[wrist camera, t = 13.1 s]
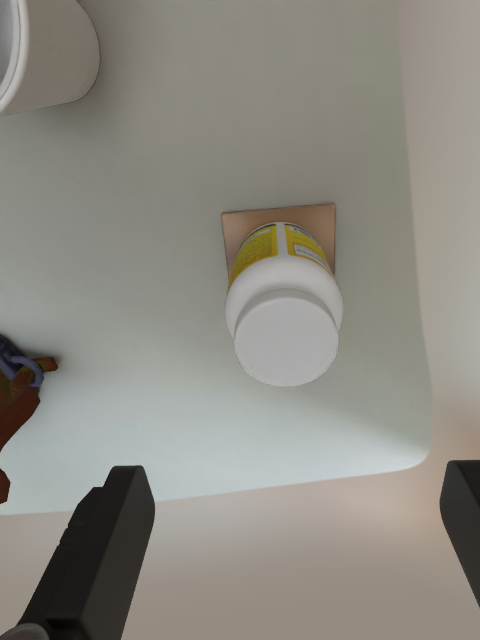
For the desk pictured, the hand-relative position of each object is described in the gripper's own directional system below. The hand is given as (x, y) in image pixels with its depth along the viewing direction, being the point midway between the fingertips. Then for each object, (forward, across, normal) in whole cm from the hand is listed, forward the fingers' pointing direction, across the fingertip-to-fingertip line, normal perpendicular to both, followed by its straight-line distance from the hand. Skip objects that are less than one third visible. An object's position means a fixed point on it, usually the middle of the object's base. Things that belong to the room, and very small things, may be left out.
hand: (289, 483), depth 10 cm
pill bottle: (+19, 0, 0) cm, 19 cm away
